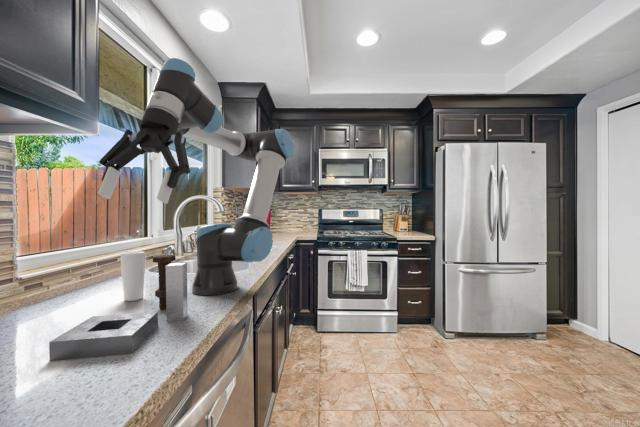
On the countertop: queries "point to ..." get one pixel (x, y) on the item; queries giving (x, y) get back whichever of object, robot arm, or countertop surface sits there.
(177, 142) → the robot arm
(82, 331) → the socket block
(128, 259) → the drinking glass
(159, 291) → the bolt
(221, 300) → the countertop surface
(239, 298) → the countertop surface
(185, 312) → the peg
